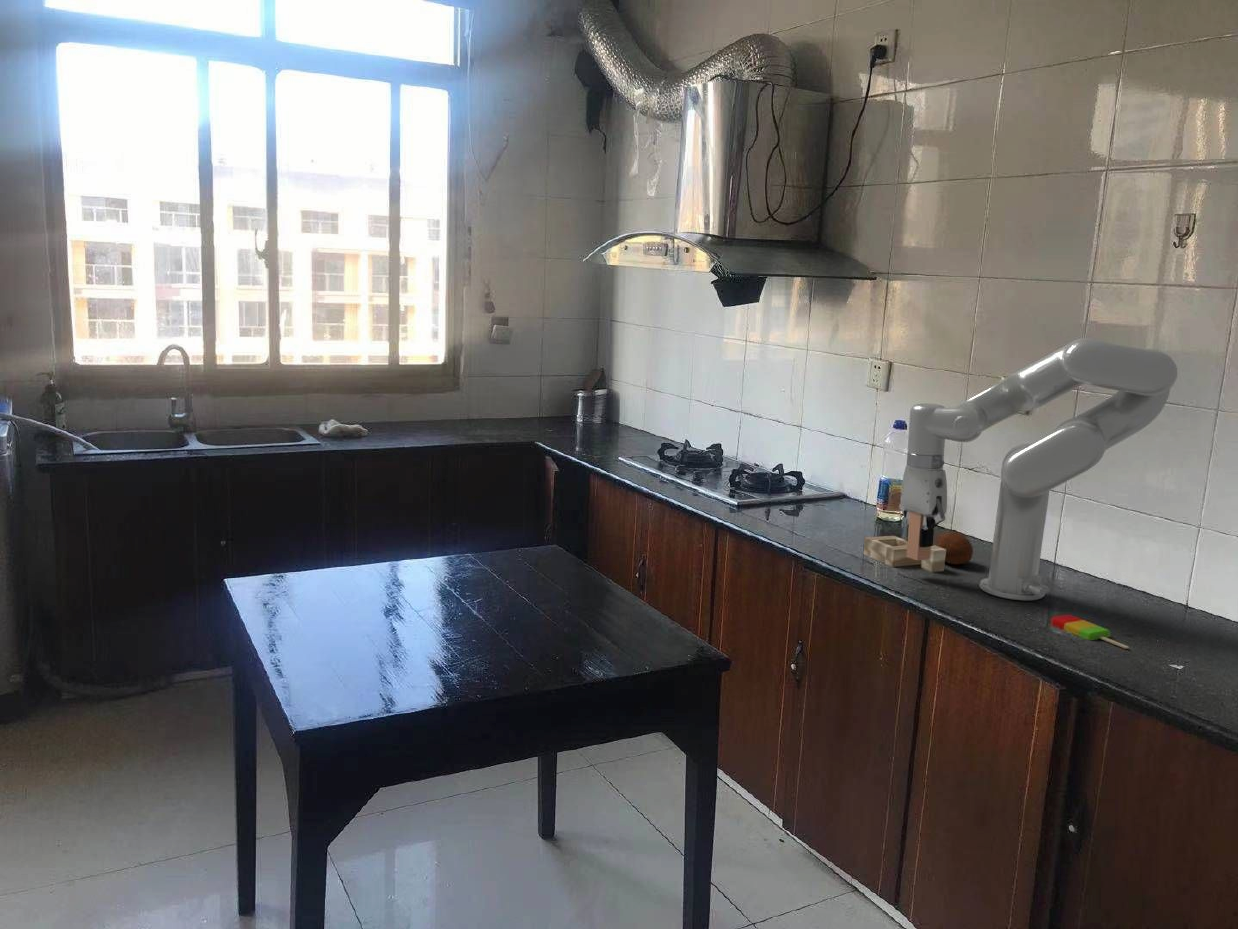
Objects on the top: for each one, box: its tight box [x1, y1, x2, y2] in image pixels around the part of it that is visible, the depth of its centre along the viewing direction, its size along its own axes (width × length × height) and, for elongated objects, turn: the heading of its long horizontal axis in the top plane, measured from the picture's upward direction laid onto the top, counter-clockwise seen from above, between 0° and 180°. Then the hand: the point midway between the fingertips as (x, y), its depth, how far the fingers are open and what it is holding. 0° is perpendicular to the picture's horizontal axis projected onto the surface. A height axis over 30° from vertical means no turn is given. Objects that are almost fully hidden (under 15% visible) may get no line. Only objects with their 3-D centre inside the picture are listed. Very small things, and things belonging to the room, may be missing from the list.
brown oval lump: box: [934, 530, 974, 565], centre depth 225 cm, size 8×11×8 cm
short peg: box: [920, 544, 946, 573], centre depth 219 cm, size 4×4×5 cm
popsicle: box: [1050, 614, 1129, 650], centre depth 181 cm, size 6×15×2 cm, turn 26°
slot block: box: [863, 535, 922, 568], centre depth 226 cm, size 10×8×4 cm
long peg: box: [906, 511, 931, 561], centre depth 212 cm, size 4×4×12 cm
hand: (919, 543), depth 212 cm, fingers closed on long peg, 3 cm apart
